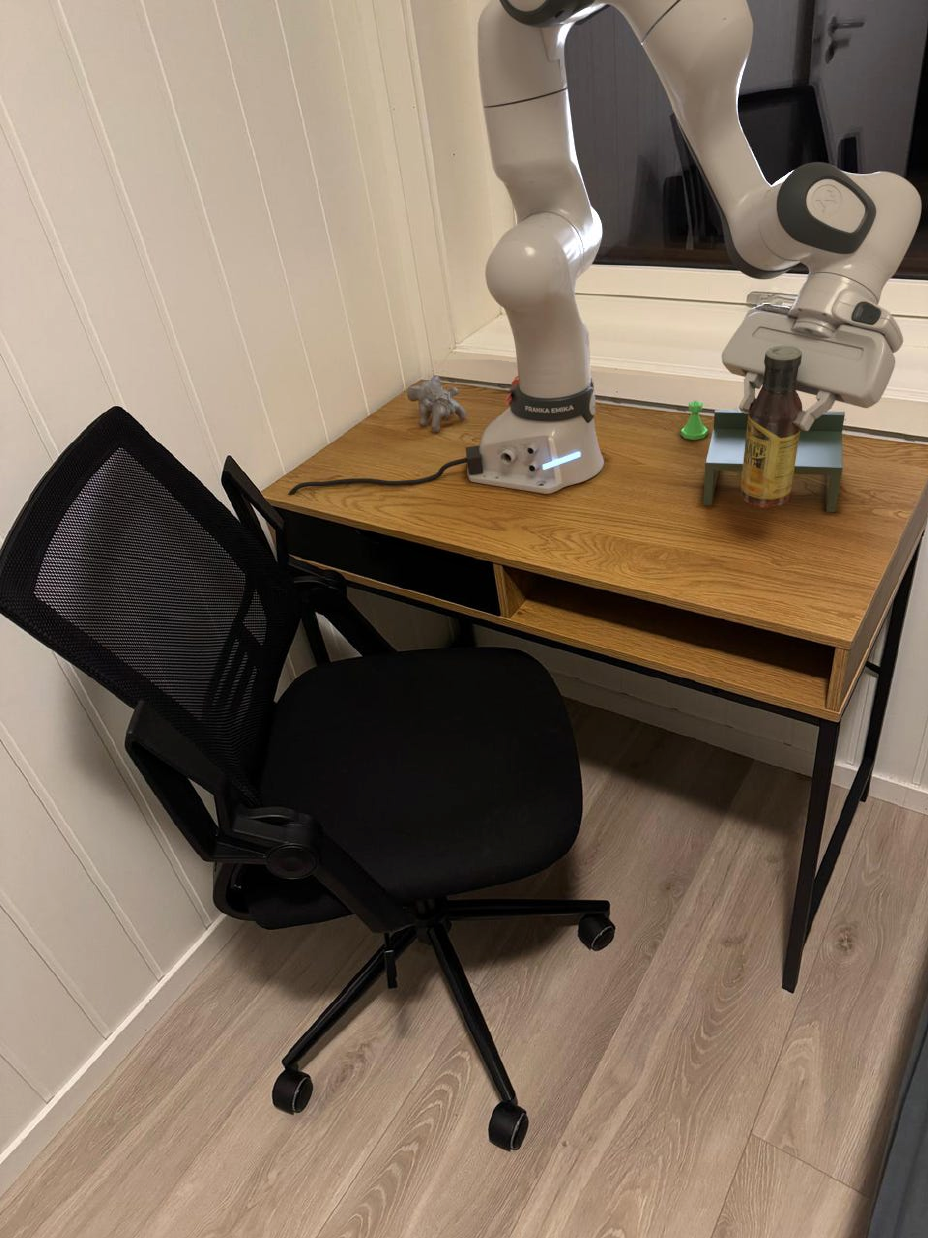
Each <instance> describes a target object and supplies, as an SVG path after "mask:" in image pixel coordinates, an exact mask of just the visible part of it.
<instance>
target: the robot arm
mask: <svg viewBox="0 0 928 1238" xmlns="http://www.w3.org/2000/svg"><path fill="white" fill-rule="evenodd" d="M610 7H614V8H615V9H616V10H617V11H619V12H620V13H621V15H622V16H623V17H624V18H625V20H626V21H627V22H628V24H629V26H630V27H631V29H632V31H633V32H634V34H635V36H636V38H637V40H638V41H639V43H640V45H641V46H642V48H643V50H644V52H645V54H646V55H647V57H648V59H649V61H650V62H651V65H652V67H653V68H654V70H655V72H656V74H657V76H658V77H659V81H661V85H662V86H663V88H664V90H665V92H666V95H667V97H668V99H669V102H670V105H671V108H672V111H673V114H674V117H675V119H676V123H677V125H678V128H679V131H680V132H681V135H682V138H683V139H684V142H685V144H686V146H687V148H688V150H689V152H690V155H691V157H692V159H693V160H694V163H695V166H696V167H697V169H698V171H699V173H700V176H701V177H702V180H703V182H704V183H705V186H706V188H707V190H708V193H709V194H710V196H711V198H712V200H713V203H714V204H715V207H716V209H717V212H718V214H719V217H720V221H721V227H722V232H723V239H724V245H725V249H726V252H727V255H728V257H729V259H730V261H731V263H732V264H733V266H734V267H735V268H736V269H737V270H738V271H739V272H740V273H742V274H743V275H745V276H746V277H749V278H751V279H756V280H762V281H763V280H764V281H765V280H773V279H775V278H778V277H780V276H782V275H783V274H784V275H785V273H787V272H788V271H790V270H791V269H792V268H794V267H796V266H797V265H798V264H800V263H801V264H803V265H804V266H806V267H807V269H808V274H807V276H806V279H805V280H804V283H803V284H802V286H801V288H800V290H799V292H798V294H797V296H796V297H795V299H794V301H793V303H792V305H791V307H789V306H785V305H775V304H773V303H768V302H764V303H762V304H761V305H757V306H754V307H753V308H750V309H749V310H748V311H747V313H746V314H745V316H744V318H743V320H742V322H741V324H740V325H739V326H738V327H737V329H736V331H735V332H734V333H733V335H732V336H731V338H730V339H729V341H728V342H727V344H726V346H725V347H724V349H723V351H722V353H721V361H722V364H723V366H724V367H725V369H727V370H728V372H729V373H730V374H733V375H735V376H739V377H743V397H742V400H741V402H740V404H739V406H738V410H741V411H742V413H746V414H749V412H750V410H751V408H752V406H753V404H754V402H755V400H756V398H757V397H756V390H761V388H762V383H763V381H764V372H765V364H764V359H765V354H766V352H767V351H768V350H769V349H770V348H773V347H776V346H791V347H795V348H798V349H799V350H800V351H801V352H802V359H801V364H800V366H799V367H798V374H797V380H796V382H797V386H796V389H795V390H796V392H797V391H798V392H800V393H805V394H808V395H809V394H810V395H812V396H815V399H816V402H815V403H814V404H813V405H811V406H810V407H809V408H807V409H806V410H803V409H802V410H799V412H798V413H797V417H796V418H795V419H794V421H793V425H794V426H795V428H798V429H801V430H804V431H808V430H809V429H810V427H811V425H812V423H813V422H814V420H815V419H817V418H818V417H820V416H821V415H823V414H824V413H825V412H829V410H831V409H832V408H833V406H834V404H835V403H836V402H840V403H844V404H847V405H852V406H855V407H859V408H862V409H869V408H871V407H873V406H874V405H876V404H877V403H879V401H880V400H881V399H882V396H883V395H884V393H885V390H886V389H887V387H888V384H889V383H890V381H891V378H892V375H893V373H894V370H895V368H896V357H895V355H894V354H896V353H897V352H899V350H900V349H901V347H902V345H903V343H904V336H903V333H902V331H901V328H900V326H899V324H898V322H897V321H896V319H895V317H894V316H893V315H892V313H891V312H890V311H888V310H887V309H885V308H884V307H881V306H880V305H879V303H880V300H881V296H882V292H883V289H884V288H885V286H886V284H887V282H889V280H890V279H891V278H893V276H894V275H895V274H896V272H897V270H898V268H899V267H900V265H901V263H902V261H903V260H904V257H905V255H906V253H907V251H908V249H909V248H910V245H911V243H912V241H913V238H914V236H915V235H916V231H917V228H918V226H919V223H920V220H921V214H922V199H921V195H920V193H919V192H918V190H917V189H916V187H915V186H914V185H913V184H912V183H911V182H910V181H909V180H907V179H906V178H904V177H903V176H901V175H899V174H897V173H893V172H891V171H877V172H873V173H867V174H861V173H860V174H859V173H851V172H847V171H843V170H841V169H840V168H838V167H837V166H835V165H833V164H831V163H828V162H822V161H813V162H812V161H811V162H809V163H804V164H801V165H800V166H798V167H796V168H795V169H793V170H792V171H790V172H788V173H787V174H786V175H784V176H783V177H781V178H780V179H778V180H777V181H775V182H774V183H773V184H772V185H771V184H770V183H769V182H768V181H767V180H766V178H765V176H764V174H763V172H762V169H761V167H760V166H759V163H758V161H757V159H756V157H755V154H754V153H753V151H752V147H751V146H750V144H749V142H748V140H747V137H746V135H745V133H744V131H743V128H742V126H741V123H740V120H739V112H738V98H739V92H740V86H741V82H742V77H743V74H744V71H745V68H746V65H747V61H748V59H749V56H750V52H751V48H752V43H753V37H754V22H753V18H752V14H751V11H750V10H751V9H750V7H749V4H748V0H491V1H490V2H489V3H488V4H487V5H486V6H485V7H484V8H483V10H482V11H481V13H480V16H479V18H478V23H477V65H478V67H477V68H478V79H479V88H480V89H479V90H480V96H481V104H482V110H483V117H484V122H485V128H486V135H487V141H488V146H489V153H490V158H491V165H492V166H491V167H492V169H493V170H492V171H493V172H494V174H495V176H496V177H497V179H499V180H500V181H501V182H502V184H503V185H504V186H505V189H506V191H507V193H508V195H509V198H510V201H511V204H512V206H513V209H514V212H515V216H516V225H514V226H513V227H511V228H510V229H509V230H507V231H506V232H504V233H503V234H502V235H501V237H500V238H499V239H498V241H497V243H496V244H495V246H494V248H493V249H492V251H491V253H490V255H489V256H488V259H487V261H486V265H485V271H484V273H485V275H484V276H485V282H486V283H485V284H486V287H487V289H488V291H489V293H490V295H491V297H492V298H493V300H494V301H495V302H496V303H497V304H498V305H499V306H500V307H502V309H504V312H505V315H506V318H507V321H508V323H509V326H510V329H511V332H512V336H513V340H514V346H515V357H516V366H517V367H516V368H517V376H515V377H514V379H513V381H512V382H511V387H510V388H509V390H508V392H507V396H506V397H505V399H506V406H509V407H507V409H504V411H502V412H501V413H500V414H499V415H498V416H496V417H495V418H493V419H492V421H491V422H490V423H489V424H487V426H486V427H485V429H484V430H483V432H482V435H481V438H480V440H479V441H480V442H479V445H472V446H465V448H464V449H465V457H463V458H458V459H455V460H451V461H448V462H446V463H445V464H443V465H442V466H441V467H440V468H439V469H438V471H437V472H436V473H434V474H431V475H429V476H427V477H423V478H415V479H404V480H386V479H385V480H384V479H377V478H370V477H369V478H368V477H366V478H365V477H364V478H363V477H361V478H360V477H358V478H341V479H332V480H323V481H305V482H300V483H298V484H296V485H295V486H293V487H292V488H291V489H290V490H289V492H288V493H287V495H288V496H293V495H295V494H296V492H297V491H299V490H300V489H304V488H308V487H328V486H329V487H330V486H336V485H345V484H373V485H379V486H380V485H381V486H390V487H391V486H392V487H393V486H412V485H420V484H424V483H428V482H431V481H435V480H437V479H438V478H441V476H442V475H443V474H444V472H445V471H446V470H448V469H449V468H452V467H454V466H459V465H463V464H466V465H467V467H466V476H467V478H468V481H470V482H472V483H476V484H482V485H488V486H495V487H501V488H507V489H513V490H519V491H525V492H532V493H536V494H537V493H538V494H544V495H550V494H553V493H556V492H558V491H560V490H561V489H563V488H566V487H568V486H573V485H576V484H580V483H582V482H585V481H588V480H590V479H592V478H594V477H595V476H596V475H598V474H599V473H600V472H601V471H602V470H603V468H604V465H605V459H604V456H603V454H602V451H601V449H600V445H599V441H598V436H597V431H596V425H595V419H594V418H595V414H596V391H595V385H594V380H593V378H592V377H591V352H590V349H591V348H590V333H589V329H588V327H587V325H586V324H584V323H583V321H582V318H581V316H580V312H579V308H578V305H577V301H576V283H577V280H578V279H579V278H580V277H581V276H582V275H583V274H584V273H585V272H586V271H588V269H589V268H590V267H591V266H592V264H593V263H594V261H595V259H596V256H597V254H598V253H599V249H600V246H601V243H602V239H603V225H602V221H601V219H600V216H599V214H598V212H597V211H596V210H595V209H594V207H593V206H592V205H591V202H590V200H589V199H590V198H589V196H588V192H587V189H586V186H585V183H584V180H583V176H582V173H581V169H580V165H579V161H578V158H577V151H576V145H575V138H574V130H573V124H572V123H573V122H572V113H571V105H570V95H569V87H568V80H567V79H568V78H567V72H566V71H567V69H566V62H565V43H566V39H567V36H568V34H569V32H570V30H571V28H572V27H573V26H582V25H584V24H585V23H586V22H588V21H590V20H591V19H592V18H595V16H597V15H598V14H600V13H602V12H605V10H607V9H608V8H610ZM315 618H316V619H317V622H318V617H317V614H316V615H315ZM318 623H319V622H318Z"/></svg>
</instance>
